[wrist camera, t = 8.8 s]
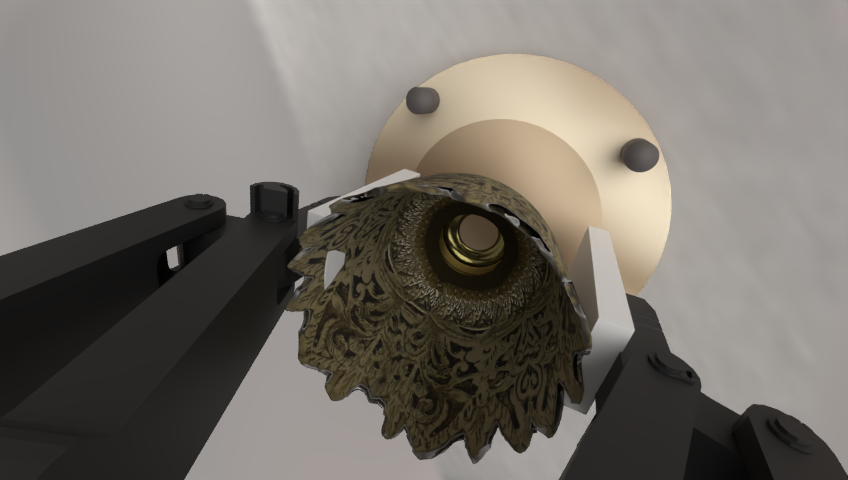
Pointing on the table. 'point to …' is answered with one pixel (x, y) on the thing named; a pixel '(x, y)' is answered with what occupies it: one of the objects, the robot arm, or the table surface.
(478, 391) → the ornate scalloped bell shade
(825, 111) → the table surface
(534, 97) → the seat plate
